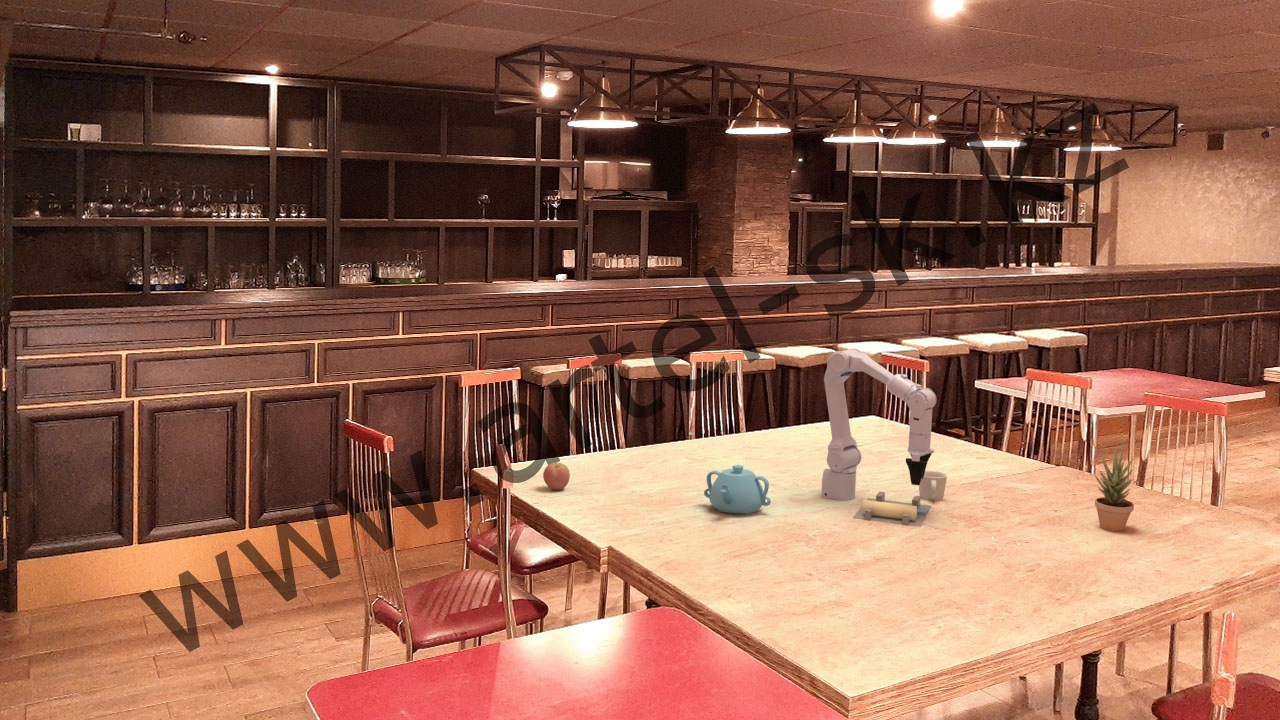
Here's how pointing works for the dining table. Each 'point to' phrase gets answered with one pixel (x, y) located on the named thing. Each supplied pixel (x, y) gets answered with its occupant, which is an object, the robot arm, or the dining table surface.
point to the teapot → (737, 491)
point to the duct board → (880, 497)
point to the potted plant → (1114, 496)
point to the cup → (932, 485)
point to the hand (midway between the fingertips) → (917, 481)
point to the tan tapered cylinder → (889, 509)
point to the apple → (556, 476)
